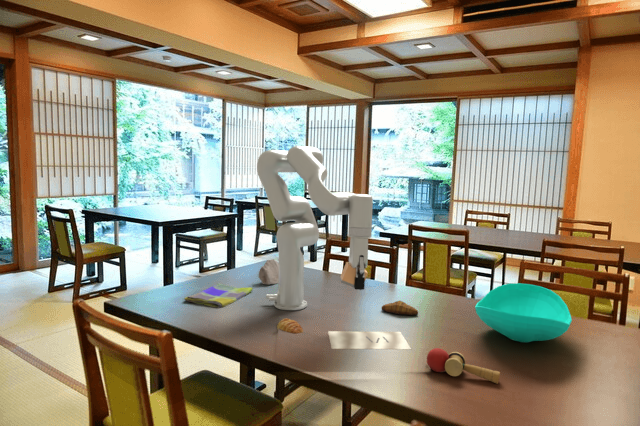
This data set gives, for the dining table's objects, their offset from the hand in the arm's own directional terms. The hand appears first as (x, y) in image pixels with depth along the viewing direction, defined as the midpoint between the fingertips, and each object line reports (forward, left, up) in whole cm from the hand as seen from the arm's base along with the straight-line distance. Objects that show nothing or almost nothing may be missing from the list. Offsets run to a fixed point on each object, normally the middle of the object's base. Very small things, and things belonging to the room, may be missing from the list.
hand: (358, 286), depth 142 cm
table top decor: (+52, -8, -14) cm, 54 cm away
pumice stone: (-31, +56, -14) cm, 65 cm away
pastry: (-22, -4, -15) cm, 26 cm away
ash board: (+1, -14, -14) cm, 20 cm away
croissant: (+18, +15, -15) cm, 27 cm away
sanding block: (-3, 0, +1) cm, 3 cm away
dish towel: (-50, +32, -15) cm, 62 cm away
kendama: (+23, -33, -14) cm, 43 cm away
